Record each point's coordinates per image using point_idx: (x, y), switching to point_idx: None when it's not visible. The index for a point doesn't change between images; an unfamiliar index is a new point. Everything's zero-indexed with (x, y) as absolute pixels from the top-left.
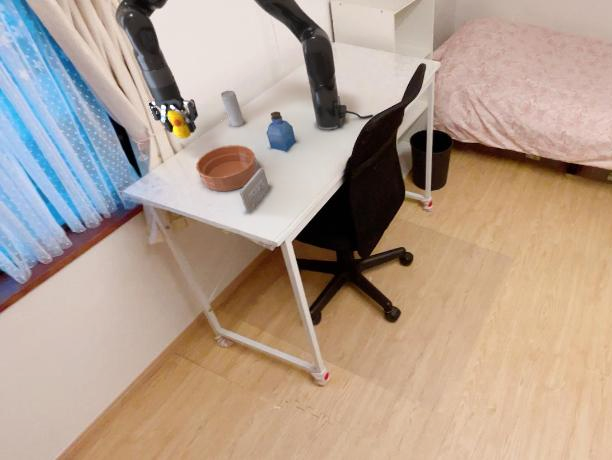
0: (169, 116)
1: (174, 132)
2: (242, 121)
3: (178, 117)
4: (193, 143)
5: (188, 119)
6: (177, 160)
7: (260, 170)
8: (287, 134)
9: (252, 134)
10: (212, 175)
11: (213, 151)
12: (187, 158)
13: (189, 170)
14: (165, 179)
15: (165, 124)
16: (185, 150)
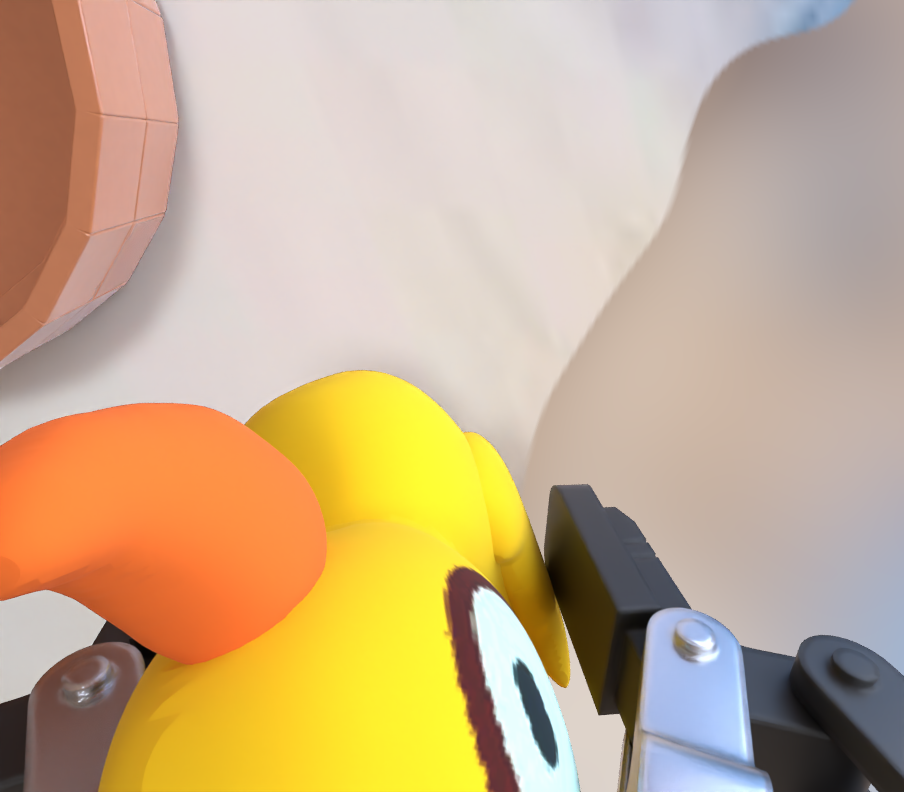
0: (434, 764)
1: (475, 452)
2: None
3: (127, 750)
4: None
5: (42, 718)
6: (537, 327)
7: None
8: None
9: None
10: (51, 31)
11: (33, 301)
12: (460, 356)
13: (370, 166)
14: (556, 4)
15: (642, 578)
16: (516, 461)
